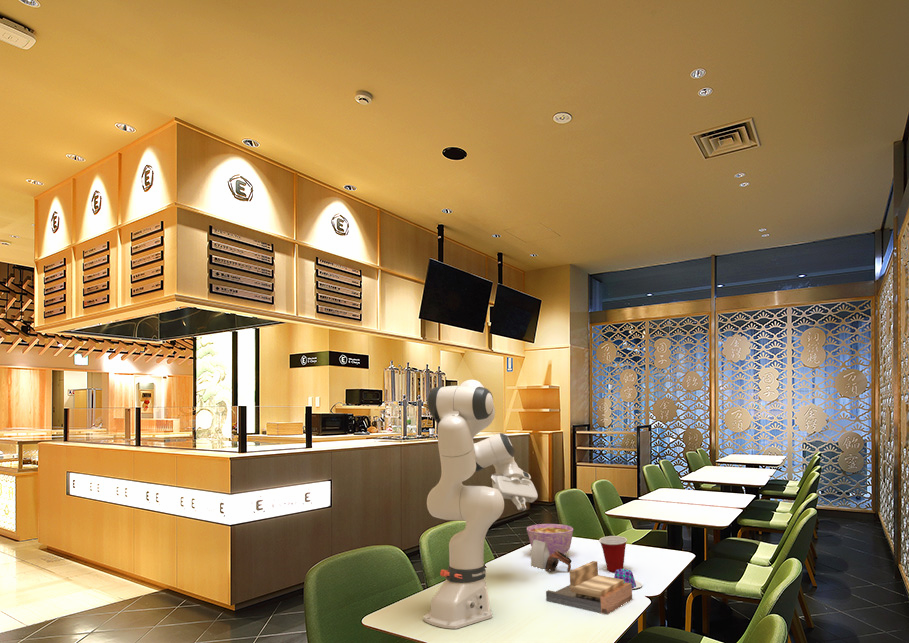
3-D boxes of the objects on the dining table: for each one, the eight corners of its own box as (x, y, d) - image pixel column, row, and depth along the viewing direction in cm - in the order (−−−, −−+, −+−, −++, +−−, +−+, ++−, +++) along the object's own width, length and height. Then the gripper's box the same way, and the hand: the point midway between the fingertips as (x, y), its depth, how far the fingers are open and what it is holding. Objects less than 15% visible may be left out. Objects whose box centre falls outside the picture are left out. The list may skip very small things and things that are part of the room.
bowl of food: (548, 548, 270) (547, 521, 271) (584, 556, 254) (582, 528, 256) (517, 556, 257) (516, 528, 259) (553, 565, 242) (552, 535, 243)
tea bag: (543, 569, 236) (542, 543, 237) (531, 566, 241) (530, 540, 242) (549, 567, 238) (548, 541, 239) (537, 564, 243) (536, 539, 244)
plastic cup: (594, 571, 232) (593, 538, 233) (611, 565, 239) (609, 534, 240) (619, 576, 224) (617, 543, 225) (634, 570, 231) (632, 538, 232)
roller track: (607, 614, 184) (606, 597, 184) (546, 600, 198) (545, 584, 199) (632, 599, 197) (631, 583, 198) (573, 587, 212) (573, 572, 212)
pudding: (646, 584, 214) (645, 568, 215) (636, 593, 205) (635, 577, 205) (613, 579, 221) (613, 564, 222) (602, 588, 211) (601, 572, 212)
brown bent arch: (547, 567, 240) (557, 549, 241) (567, 581, 234) (577, 562, 235) (537, 566, 230) (547, 547, 231) (557, 581, 225) (567, 561, 226)
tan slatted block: (601, 606, 186) (600, 576, 187) (570, 599, 193) (569, 571, 195) (624, 593, 198) (622, 565, 199) (594, 587, 205) (593, 560, 207)
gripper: (495, 467, 217) (508, 501, 208) (532, 475, 230) (546, 507, 220) (484, 477, 220) (496, 511, 211) (522, 484, 232) (535, 516, 223)
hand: (522, 509), depth 216 cm, fingers closed
